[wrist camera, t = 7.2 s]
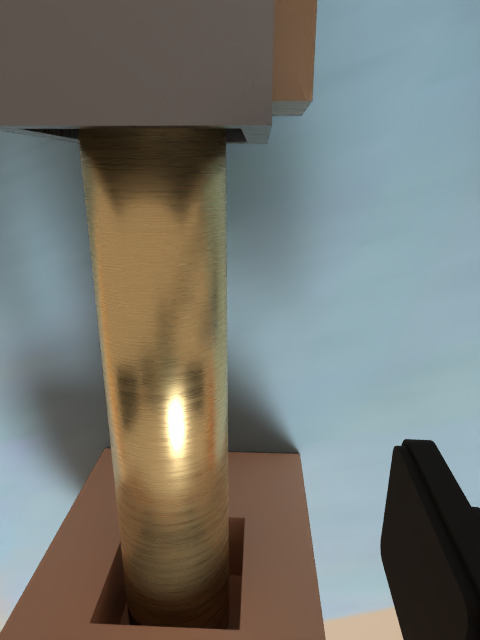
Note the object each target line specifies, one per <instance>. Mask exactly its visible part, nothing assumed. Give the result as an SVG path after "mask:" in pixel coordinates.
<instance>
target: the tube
mask: <svg viewBox="0 0 480 640" xmlns="http://www.w3.org/2000/svg"><path fill="white" fill-rule="evenodd" d="M78 137H79V147H80V156H81V166H82V176H83V185H84V195H85V204H86V214H87V223H88V233H89V243H90V252H91V262H92V271H93V281H94V291H95V300H96V310H97V319H98V329H99V338H100V348H101V358H102V367H103V377H104V386H105V396H106V405H107V415H108V425H109V434H110V444H111V453H112V463H113V472H114V482H115V492H116V501H117V511H118V520H119V530H120V539H121V549H122V559H123V568H124V578H125V587H126V597H127V607H128V616H129V625H135V626H157V627H180V628H202V629H224V630H227V627H228V623H229V505H228V375H227V245H226V128H160V129H78Z"/></svg>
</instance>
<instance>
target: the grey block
mask: <svg viewBox="0 0 480 640" xmlns="http://www.w3.org/2000/svg"><path fill="white" fill-rule="evenodd" d="M316 13H317V0H0V131H6V132H13V133H19V134H25V135H32V136H38V137H44V138H51V139H57V140H63V141H69V142H76V143H79V137H78V129H160V128H226V144H267V143H268V139H269V134H270V130H271V126H272V116H302V114H303V113H304V112H305V110H306V109H307V107H308V106H309V105H310V103H311V102H312V96H313V76H314V55H315V34H316Z"/></svg>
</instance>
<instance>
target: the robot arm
mask: <svg viewBox="0 0 480 640" xmlns="http://www.w3.org/2000/svg"><path fill="white" fill-rule="evenodd" d="M381 558H382V562H383V566H384V570H385V573H386V577H387V581H388V584H389V588H390V592H391V595H392V599H393V603H394V606H395V610H396V614H397V617H398V621H399V625H400V628H401V632H402V635H403V639H404V640H480V508H478V507H471V505H470V504H469V502H468V500H467V498H466V497H465V495H464V493H463V491H462V490H461V488H460V486H459V485H458V483H457V481H456V479H455V478H454V476H453V474H452V472H451V471H450V469H449V467H448V465H447V464H446V462H445V460H444V458H443V457H442V455H441V453H440V451H439V450H438V448H437V446H436V445H435V443H434V442H433V441H431V440H412V439H405V440H404V441H403V443H402V446H395V447H394V449H393V455H392V462H391V469H390V477H389V484H388V491H387V499H386V506H385V513H384V521H383V528H382V535H381Z"/></svg>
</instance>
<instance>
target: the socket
mask: <svg viewBox="0 0 480 640" xmlns="http://www.w3.org/2000/svg"><path fill="white" fill-rule="evenodd" d="M228 505H229V623H228V627H227V630H224V629H202V628H180V627H157V626H135V625H129V616H128V607H127V597H126V587H125V578H124V568H123V559H122V549H121V539H120V530H119V520H118V511H117V501H116V492H115V482H114V472H113V463H112V453H111V449H109V448H105V449H104V450H103V452H102V454H101V456H100V457H99V459H98V461H97V463H96V465H95V466H94V468H93V470H92V472H91V473H90V475H89V477H88V479H87V480H86V482H85V484H84V486H83V488H82V489H81V491H80V493H79V495H78V496H77V498H76V500H75V502H74V503H73V505H72V507H71V509H70V511H69V512H68V514H67V516H66V518H65V519H64V521H63V523H62V525H61V526H60V528H59V530H58V532H57V534H56V535H55V537H54V539H53V541H52V542H51V544H50V546H49V548H48V550H47V551H46V553H45V555H44V557H43V558H42V560H41V562H40V564H39V565H38V567H37V569H36V571H35V573H34V574H33V576H32V578H31V580H30V581H29V583H28V585H27V587H26V588H25V590H24V592H23V594H22V596H21V597H20V599H19V601H18V603H17V604H16V606H15V608H14V610H13V611H12V613H11V615H10V617H9V619H8V620H7V622H6V624H5V626H4V627H3V629H2V631H1V633H0V640H325V632H324V624H323V617H322V610H321V603H320V595H319V588H318V581H317V574H316V567H315V559H314V552H313V545H312V538H311V530H310V523H309V516H308V509H307V501H306V494H305V487H304V480H303V472H302V465H301V458H300V454H286V453H250V452H228Z"/></svg>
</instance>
